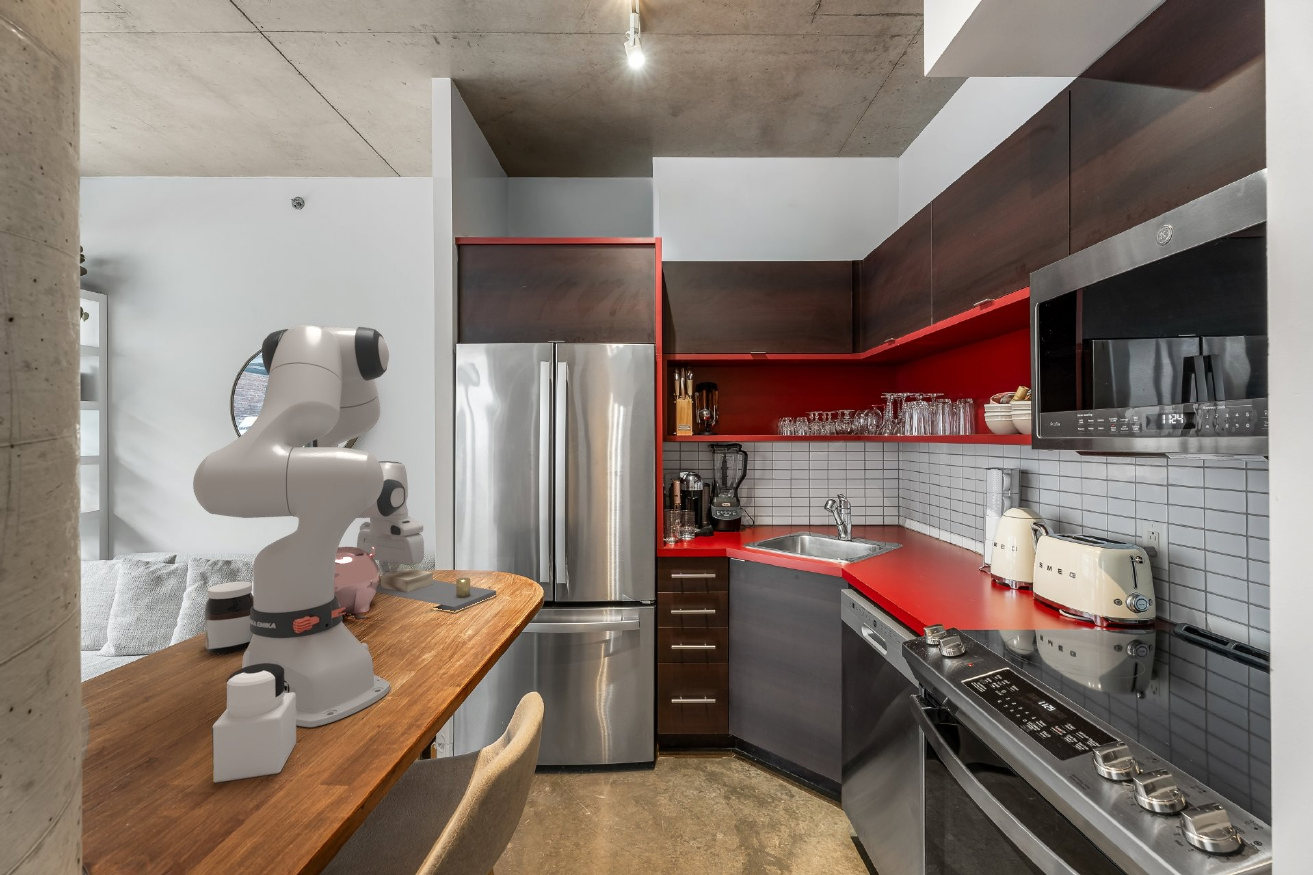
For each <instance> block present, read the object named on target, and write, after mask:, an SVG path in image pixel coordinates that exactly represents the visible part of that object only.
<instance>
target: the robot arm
mask: <svg viewBox="0 0 1313 875" xmlns="http://www.w3.org/2000/svg"><path fill="white" fill-rule="evenodd" d="M261 358H262V363H263V366H264V369H265V371H266V373H267V374H268V379H267V386H266V390H265V395H264V399H263V403H262V406H261V409H260V412H259V414H258V415H257V418H256V419H255V420H254V421H253V423H252V424H251V426H249V428H247V429H246V431H245V432H244V433H243V434H241V436H239V437H238V438H236V439H235V440H233V441H232V442H230V443H229V444H227V445H226V446H224V447H222V448H220V449H217V450H216V451H214V452H212V453H210V454H208V455H207V456H206V457H204V459H203V460H202V461H201V462H200V463H199V465H198V467H197V468H196V471H195V473H194V477H193V482H192V486H193V487H192V488H193V493H194V496H195V498H196V500H197V503H198V504H199V505H200V506H201V507H202V508H203V509H204V510H205V511H206V512H207V513H209V514H211V515H217V516H218V515H219V516H223V517H232V518H239V519H240V518H241V519H254V518H255V519H258V518H275V517H277V518H278V517H295V518H298V526H297V528H296V530H295V531H293V532H291V533H290V534H287V535H285V536H283V537H281V538H279V539H277V540H275V541H274V542H271V543H269V544H268V545H267V546H265V547H263V548H262V549H261V550H260V551H259V552H258V554H257V555H256V556H255V559H254V560H253V564H252V576H253V577H252V578H253V581H252V583H253V584H252V591H253V593H252V595H253V601H254V605H253V606H252V607H251V609H250V616H249V622H250V631H251V632H252V633H253V636H252V639H251V641H250V644H249V646H248V648H247V649H245V650H244V654H243V656H242V665H241V669H242V668H244V667H247V666H251V665H255V664H261V663H271V664H278V665H280V666H282V667H283V668H284V693H292V692H294V693H295V694H296V726H298V727H305V728H315V727H319V726H323V725H326V724H330V723H332V722H336V721H339V720H342V719H343V718H345V717H346V718H347V717H348V716H351V715H353V714H355V713H357V712H359V711H361V710H363V709H365V708H367V707H370V706H371V705H373V704H374V703H376V702H377V701H379V700H380V699H381V698H383V697H384V696H386V695H387V694H388V693H389V692H390V690H391V683H390V681H388V680H386V679H384V678H382V677H380V676H379V675H376V674H374V673H375V672H374V671H375V670H374V662H373V658H372V655H371V653H370V648H369V645H368V644H367V643H366V642H360V641H359V639H358V638H357V637H356V636H355V635H354V633H352V632H351V631H350V630H349V628H347V626H346V625H345V623H343V619H344V618H343V616H345V615H344V614H346V613H341V611H343V610H344V609H346V608H345V607H343V608H340V604H339V603H338V600H337V597H336V596H335V595H334V578H335V563H336V555H337V550H338V547H340V544H341V542H342V538H343V537H344V534H346V532H347V530H348V529H349V527H350V526H351V524H352V523H354V521H355V520H356V519H369V521H364V522H363V523H362V524H361V525H360V526H359V532H358V534H357V540H356V548H360V549H363V550H365V551H367V552H368V553H369V554H371V553H372V547H376V548H375V556H374V557H373V559H374V560H375V561H378V565H379V566H378V567H379V569H380V570H381V572H382V575H385V574H389V573H392V572H396V571H399V570H398V569H399V568H400V566H401V565H404V566H411V567H412V566H415V565H419V564H421V563H422V562H423V561H424V558H425V541H424V537H423V534H422V533H423V531H424V525H423V523H421V522H419V521H417V520H415V519H414V518H412V517H411V516H410V515H409V510H408V506H407V499H408V496H409V487H408V485H409V484H408V475H407V469H406V465H405V464H403V463H402V462H399V461H391V460H390V461H389V460H386V461H385V460H384V461H383V460H381V461H378V459H377V458H376V456H374V455H373V454H372V452H370V451H365V450H362V449H361V450H360V449H356V448H349V447H342V446H341V447H340V446H339V445H340V444H342V443H344V442H347V441H350V440H354V439H357V438H358V437H361V436H363V435H365V434H366V433H367V432H369V431H370V430H372V428H374V426H376V425H377V423H378V422H379V421H378V420H379V418H380V416H381V405H380V404H381V403H380V399H379V398H380V397H379V393H378V388H377V386H376V385H377V384H376V382H375V379H378V378H380V377H382V376H383V375H384V374H385V373H386V372H387V369H388V365H389V360H390V352H389V347H388V345H387V342H386V341H385V339H384V337H383V334H381V333H380V332H379V331H378V330H377V329H374V328H371V327H367V326H366V327H364V326H358V327H357V328H355V327H343V326H341V327H340V326H339V327H337V326H327V327H326V326H317V325H313V324H300V325H295V326H293V327H290V328H289V329H288V328H287V329H286V328H285V329H280V330H277V331H276V330H275V331H273V332H270V333H269V334H268V335H267V336H266V337H265V338H264V340H263V342H262V344H261ZM309 443H312V446H309V447H307V446H306V445H308V444H309ZM342 615H343V616H342Z"/></svg>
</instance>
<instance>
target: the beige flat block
mask: <svg viewBox="0 0 1313 875" xmlns="http://www.w3.org/2000/svg"><path fill="white" fill-rule="evenodd" d="M433 573H434V572H433V571H432V572H431V571H427V570H419V569H413V568H403V569H400V570H397V571H396V572H392V573H389V574H385V575H383V574H382V575H380V584H381V588H385V589H391V590H396V591H402V592H411V591H414V590H417V589H420V588H423V587H426V586H429V585H432V584H433V580H434V574H433Z"/></svg>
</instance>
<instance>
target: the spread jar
mask: <svg viewBox="0 0 1313 875" xmlns="http://www.w3.org/2000/svg"><path fill="white" fill-rule="evenodd" d="M252 583H253V582H250V581H230V582H225V583H220V584H216V585H213V586H210V587H208V588H207V598H208V599H207V600H206V603H205V607H204V608H205V609H204V638H205V642H204V643H205V644H204V645H205V649H206V651H207V653H209V654H210V655H228V654H233V653H238V652H241V651H245V650H247V648H248V646H249V644H250V641H251V639H252V636H253V633H252V632H251V631H250V622H249V616H250V609H251V607H252V606H253V605H254V601H253V593H252V591H253V584H252Z"/></svg>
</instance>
